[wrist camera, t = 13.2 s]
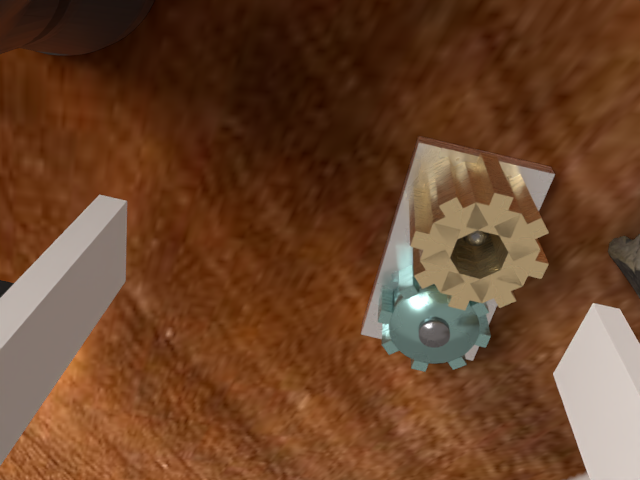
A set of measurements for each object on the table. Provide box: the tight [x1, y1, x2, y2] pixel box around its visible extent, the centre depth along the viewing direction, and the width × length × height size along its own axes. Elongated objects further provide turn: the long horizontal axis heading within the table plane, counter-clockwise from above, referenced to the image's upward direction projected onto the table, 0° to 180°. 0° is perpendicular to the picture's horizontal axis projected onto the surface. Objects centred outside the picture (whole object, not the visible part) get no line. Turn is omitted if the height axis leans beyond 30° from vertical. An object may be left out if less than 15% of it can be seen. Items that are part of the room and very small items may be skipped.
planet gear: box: [409, 152, 549, 310], centre depth 40 cm, size 9×9×7 cm
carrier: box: [361, 136, 555, 372], centre depth 44 cm, size 10×18×6 cm, turn 168°
